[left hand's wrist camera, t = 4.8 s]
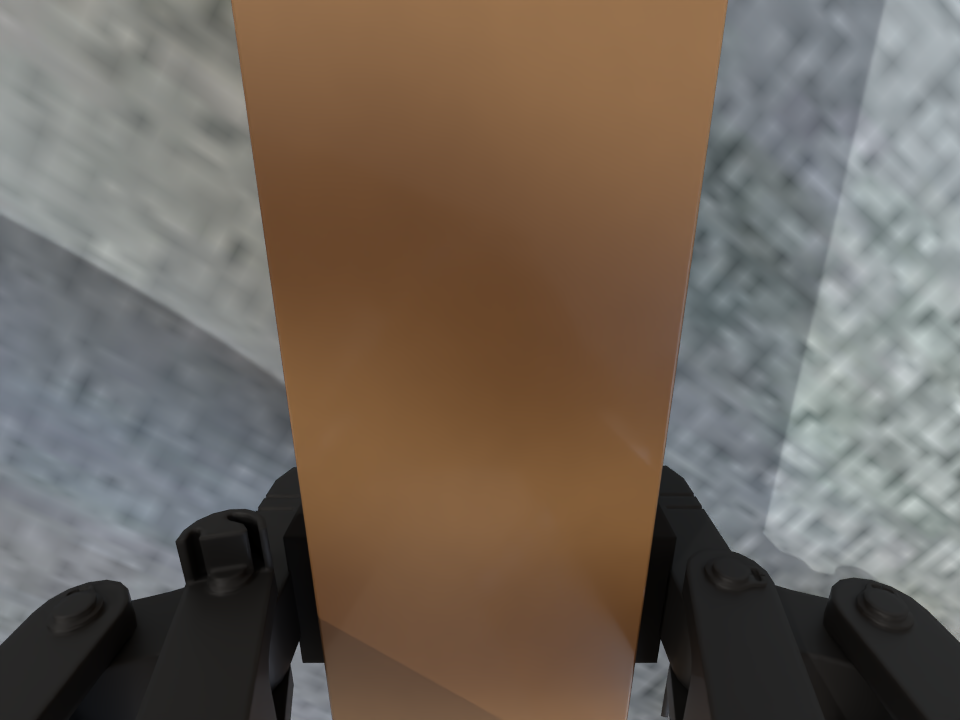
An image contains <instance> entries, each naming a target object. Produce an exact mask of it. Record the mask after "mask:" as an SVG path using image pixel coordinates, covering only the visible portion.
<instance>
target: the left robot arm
mask: <svg viewBox="0 0 960 720" xmlns="http://www.w3.org/2000/svg"><path fill="white" fill-rule="evenodd" d="M175 542H176V546H177V550H178V554H179V558H180V562H181V566H182V570H183V574H184V578H185V582H186V585H185V587H184V588H181V589H178V590H175V591H171V592H167V593H163V594H159V595H155V596H150V597H146V598H142V599H137V600H133V601H131V597H130V594H129V590H128V588H126V587H125V586H124V585H123V584H122V583H121V582H116V581H110V580H102V581H95V582H88V583H85V584H82V585H79V586H76V587H73V588H70V589H68V590H66V591H64V592H62V593H61V594H59V595H57V596H55V597H53V598H51V599H50V600H48V601H47V602H46V603H44V604H43V605H42V606H41V607H39V608H38V609H37V610H36V611H35V612H33V613H32V614H31V615H30V616H29V617H28V618H27V619H26V620H25V621H24V622H23V623H22V624H21V625H20V626H19V627H18V628H17V629H16V630H15V631H14V632H13V633H12V634H11V635H10V636H9V637H8V638H7V639H6V640H5V641H4V642H3V643H2V644H1V645H0V720H290V718H291V707H292V696H293V686H294V684H293V677H292V671H291V665H290V664H291V661H292V658H293V656H294V653H295V650H296V648H297V645H298V642H300V648H301V654H302V661H303V663H324V656H323V649H322V642H321V635H320V628H319V621H318V614H317V607H316V599H315V592H314V585H313V578H312V571H311V564H310V557H309V550H308V543H307V536H306V528H305V521H304V514H303V507H302V500H301V493H300V486H299V479H298V472H297V467H293V468H292V469H291V470H289V471H288V472H287V473H285V474H284V475H282V476H281V477H280V478H278V479H277V480H276V481H275V483H274V484H273V486H272V487H271V489H270V490H269V492H268V493H267V495H266V498H264V500H263V501H262V503H261V504H260V506H259V507H258V511H256V512H255V511H251V510H247V509H230V510H226V511H222V512H218V513H213V514H211V515H209V516H207V517H204V518H202V519H200V520H198V521H196V522H195V523H193V524H192V525H190V526H189V527H188V528H186V529H185V530H184V531H183V532H182V533H181V535H180V536H179V537H178V539H177V540H176V541H175ZM660 640H661V641H662V644H663V646H664V649H665V651H666V654H667V657H668V659H669V662H670V665H669V671H668V677H667V683H666V688H665V694H664V700H663V706H662V713H661V716H663V717H668V714H669V717H670V720H960V642H959V641H958V640H957V639H956V638H955V637H954V636H953V635H952V634H951V633H950V632H949V631H948V630H947V629H946V628H945V627H944V626H943V625H942V624H941V623H940V622H939V621H938V620H937V619H936V618H935V617H934V616H933V615H932V614H931V613H930V612H929V611H928V610H926V609H925V608H924V607H923V606H921V605H920V604H919V603H918V602H916V601H915V600H914V599H913V598H911V597H910V596H908V595H906V594H904V593H902V592H900V591H898V590H897V589H895V588H893V587H891V586H888V585H885V584H882V583H879V582H876V581H873V580H867V579H860V578H849V579H843V580H839V581H838V582H837V583H836V584H835V585H834V586H832V589H831V592H830V596H829V599H828V598H823V597H819V596H815V595H810V594H806V593H802V592H797V591H793V590H789V589H786V588H782V587H779V586H776V585H775V584H774V582H773V581H772V579H771V578H770V576H769V574H768V573H767V571H765V570H764V569H763V568H762V567H761V566H759V565H758V564H757V563H756V562H755V561H753V560H751V559H749V558H747V557H745V556H743V555H741V554H739V553H736V552H732V551H731V550H730V549H729V547H728V546H727V544H726V542H725V541H724V539H723V538H722V536H721V535H720V533H719V532H718V530H717V529H716V527H715V526H714V524H713V522H712V521H711V519H710V518H709V516H708V515H707V513H706V512H705V510H704V509H702V506H701V504H700V503H699V501H698V499H697V498H696V496H694V493H693V492H692V490H691V489H690V487H689V486H688V484H687V483H686V481H685V480H684V478H682V477H681V476H680V475H678V474H677V473H676V472H674V471H673V470H671V469H670V468H669V467H667V466H663V467H662V474H661V481H660V488H659V496H658V503H657V510H656V517H655V524H654V531H653V538H652V545H651V553H650V560H649V567H648V574H647V581H646V588H645V595H644V602H643V610H642V617H641V624H640V631H639V638H638V645H637V652H636V659H635V663H657V658H658V652H659V646H660Z"/></svg>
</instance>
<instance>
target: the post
mask: <svg viewBox="0 0 960 720" xmlns="http://www.w3.org/2000/svg"><path fill="white" fill-rule="evenodd" d="M231 3H232V10H233V17H234V24H235V31H236V39H237V46H238V53H239V60H240V67H241V74H242V81H243V88H244V95H245V102H246V110H247V117H248V124H249V131H250V138H251V145H252V152H253V159H254V166H255V173H256V181H257V188H258V195H259V202H260V209H261V216H262V223H263V230H264V237H265V244H266V252H267V259H268V266H269V273H270V280H271V287H272V294H273V301H274V308H275V315H276V323H277V330H278V337H279V344H280V351H281V358H282V365H283V372H284V379H285V386H286V394H287V401H288V408H289V415H290V422H291V429H292V436H293V443H294V450H295V457H296V465H297V472H298V479H299V486H300V493H301V500H302V507H303V514H304V521H305V528H306V536H307V543H308V550H309V557H310V564H311V571H312V578H313V585H314V592H315V599H316V607H317V614H318V621H319V628H320V635H321V642H322V649H323V656H324V663H325V670H326V678H327V685H328V692H329V699H330V706H331V713H332V720H627V716H628V709H629V702H630V695H631V688H632V681H633V674H634V667H635V659H636V652H637V645H638V638H639V631H640V624H641V617H642V610H643V602H644V595H645V588H646V581H647V574H648V567H649V560H650V553H651V545H652V538H653V531H654V524H655V517H656V510H657V503H658V496H659V488H660V481H661V474H662V467H663V460H664V453H665V446H666V439H667V431H668V424H669V417H670V410H671V403H672V396H673V389H674V382H675V374H676V367H677V360H678V353H679V346H680V339H681V332H682V324H683V317H684V310H685V303H686V296H687V289H688V282H689V275H690V267H691V260H692V253H693V246H694V239H695V232H696V225H697V218H698V210H699V203H700V196H701V189H702V182H703V175H704V168H705V161H706V153H707V146H708V139H709V132H710V125H711V118H712V111H713V104H714V96H715V89H716V82H717V75H718V68H719V61H720V54H721V47H722V39H723V32H724V25H725V18H726V11H727V4H728V0H231Z"/></svg>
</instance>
